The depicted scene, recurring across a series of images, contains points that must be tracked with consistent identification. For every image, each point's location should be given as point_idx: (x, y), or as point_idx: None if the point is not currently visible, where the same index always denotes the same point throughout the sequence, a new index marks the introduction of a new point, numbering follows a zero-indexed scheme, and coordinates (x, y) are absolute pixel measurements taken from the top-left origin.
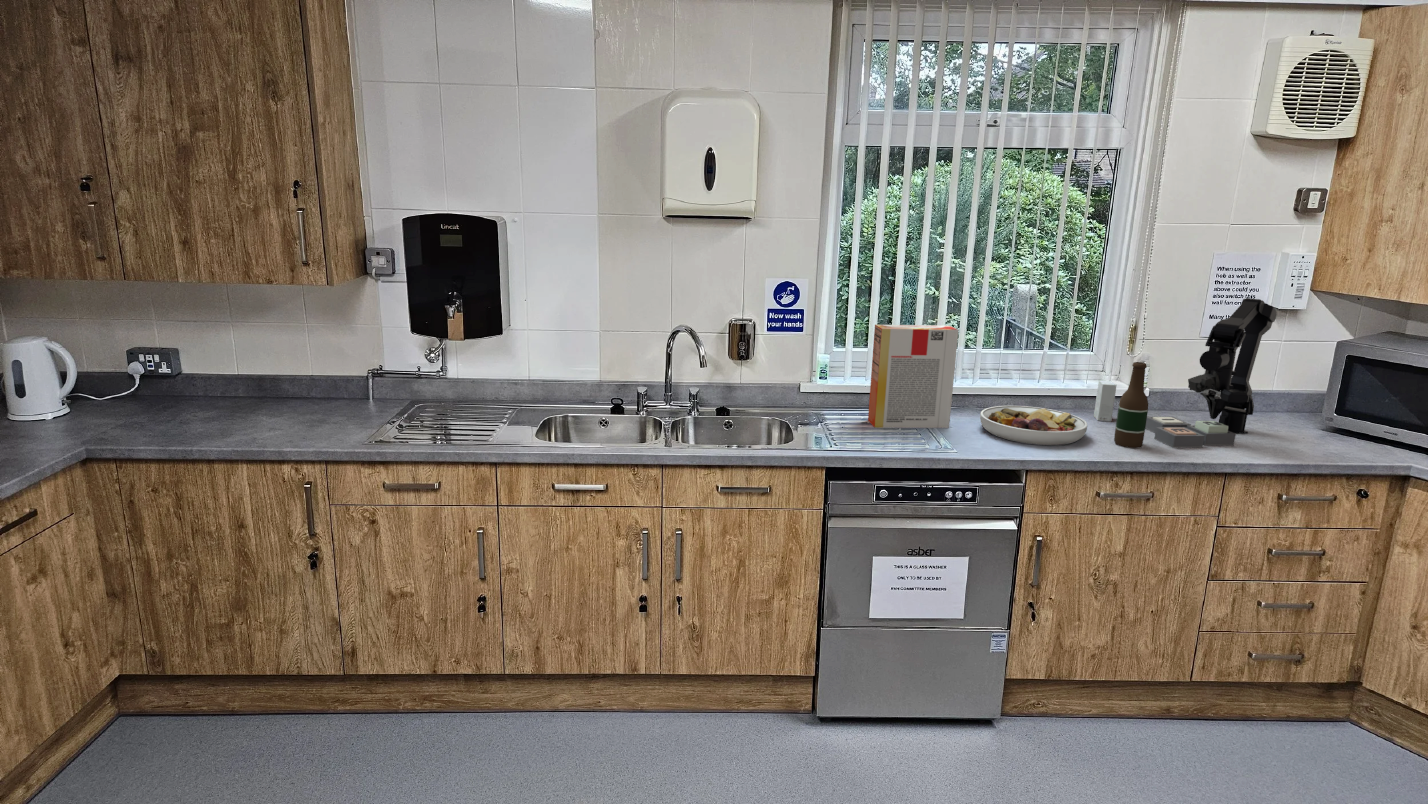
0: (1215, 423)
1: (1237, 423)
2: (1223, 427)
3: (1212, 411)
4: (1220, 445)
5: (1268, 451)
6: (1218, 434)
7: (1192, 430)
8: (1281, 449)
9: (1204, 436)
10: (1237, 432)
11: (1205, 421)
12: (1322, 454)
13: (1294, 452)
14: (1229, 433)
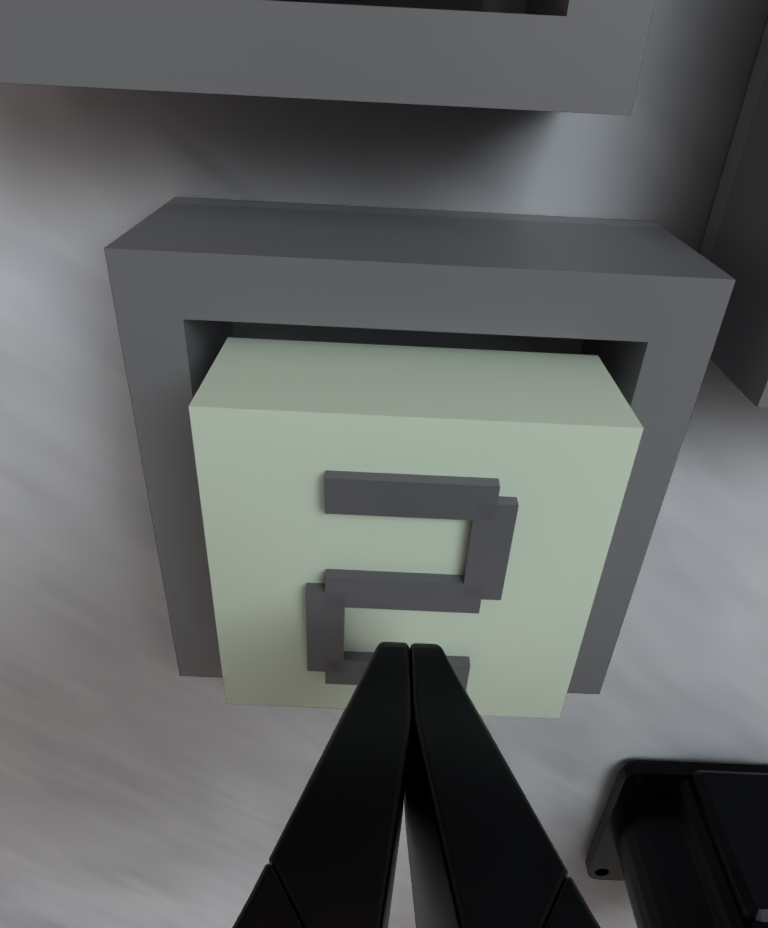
0: (403, 638)
1: (646, 904)
2: (226, 631)
3: (358, 779)
4: None
5: (58, 714)
6: (148, 461)
7: (528, 253)
8: (143, 815)
9: (174, 234)
10: (605, 817)
11: (555, 572)
12: (59, 924)
13: (72, 837)
14: (186, 618)
